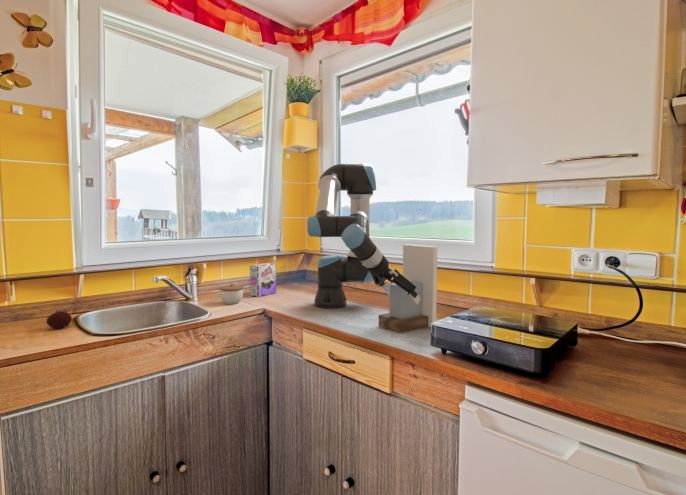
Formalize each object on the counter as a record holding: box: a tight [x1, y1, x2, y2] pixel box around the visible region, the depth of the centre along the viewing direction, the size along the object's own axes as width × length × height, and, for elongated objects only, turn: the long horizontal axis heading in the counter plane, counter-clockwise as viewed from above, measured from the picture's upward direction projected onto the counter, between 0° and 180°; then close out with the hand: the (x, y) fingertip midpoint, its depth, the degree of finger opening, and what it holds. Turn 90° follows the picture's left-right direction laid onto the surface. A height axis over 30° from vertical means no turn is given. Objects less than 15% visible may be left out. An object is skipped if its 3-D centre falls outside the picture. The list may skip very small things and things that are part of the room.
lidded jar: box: [219, 282, 244, 305], centre depth 178 cm, size 11×11×9 cm
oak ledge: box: [378, 312, 429, 334], centre depth 139 cm, size 12×14×4 cm
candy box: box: [249, 262, 277, 298], centre depth 197 cm, size 14×6×16 cm, turn 147°
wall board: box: [402, 243, 438, 328], centre depth 143 cm, size 16×2×30 cm, turn 34°
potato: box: [46, 310, 73, 329], centre depth 138 cm, size 8×9×6 cm
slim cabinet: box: [389, 281, 423, 319], centre depth 139 cm, size 6×11×14 cm, turn 124°
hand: (405, 298), depth 139 cm, fingers open, 13 cm apart
